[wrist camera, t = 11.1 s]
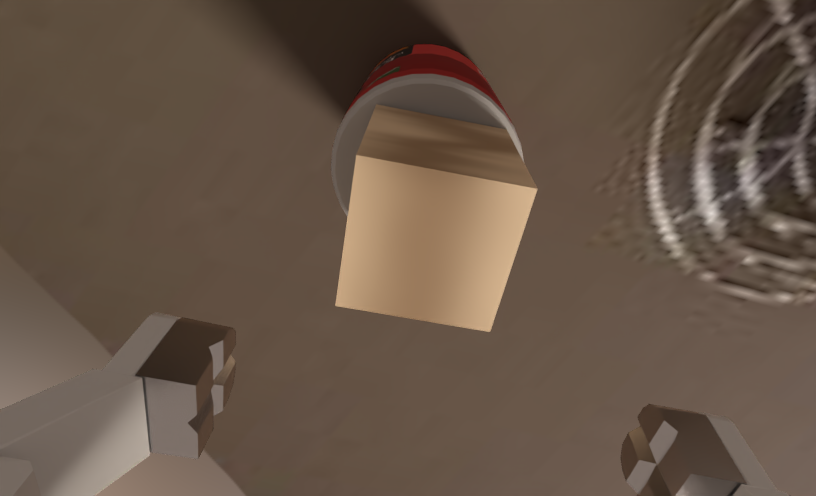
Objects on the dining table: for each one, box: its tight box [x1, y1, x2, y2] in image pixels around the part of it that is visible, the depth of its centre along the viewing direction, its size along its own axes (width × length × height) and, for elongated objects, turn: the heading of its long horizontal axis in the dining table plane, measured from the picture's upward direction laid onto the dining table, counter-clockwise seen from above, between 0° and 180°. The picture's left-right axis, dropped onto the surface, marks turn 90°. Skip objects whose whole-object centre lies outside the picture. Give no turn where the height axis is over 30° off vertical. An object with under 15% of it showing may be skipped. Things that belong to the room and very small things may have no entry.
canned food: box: [331, 44, 524, 216], centre depth 25 cm, size 8×8×11 cm
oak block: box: [335, 104, 537, 332], centre depth 17 cm, size 5×5×6 cm
